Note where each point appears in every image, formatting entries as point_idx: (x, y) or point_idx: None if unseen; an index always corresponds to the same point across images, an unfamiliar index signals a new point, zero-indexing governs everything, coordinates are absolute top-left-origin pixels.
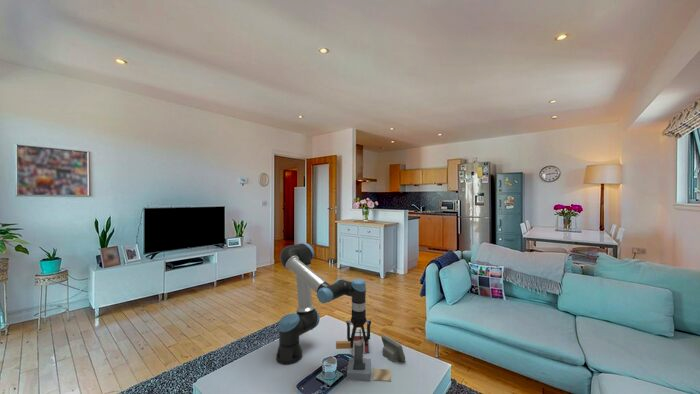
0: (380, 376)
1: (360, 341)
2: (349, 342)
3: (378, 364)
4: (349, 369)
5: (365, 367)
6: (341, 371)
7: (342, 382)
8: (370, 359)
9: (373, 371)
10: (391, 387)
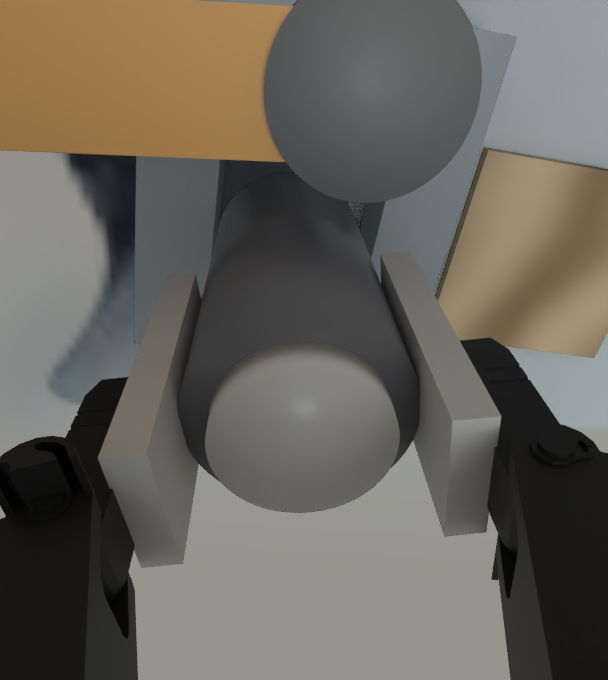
0: (518, 296)
1: (395, 107)
2: (29, 105)
3: (595, 26)
4: (163, 283)
5: (378, 259)
6: (64, 153)
7: (109, 338)
8: (504, 61)
9: (470, 206)
10: (557, 416)
